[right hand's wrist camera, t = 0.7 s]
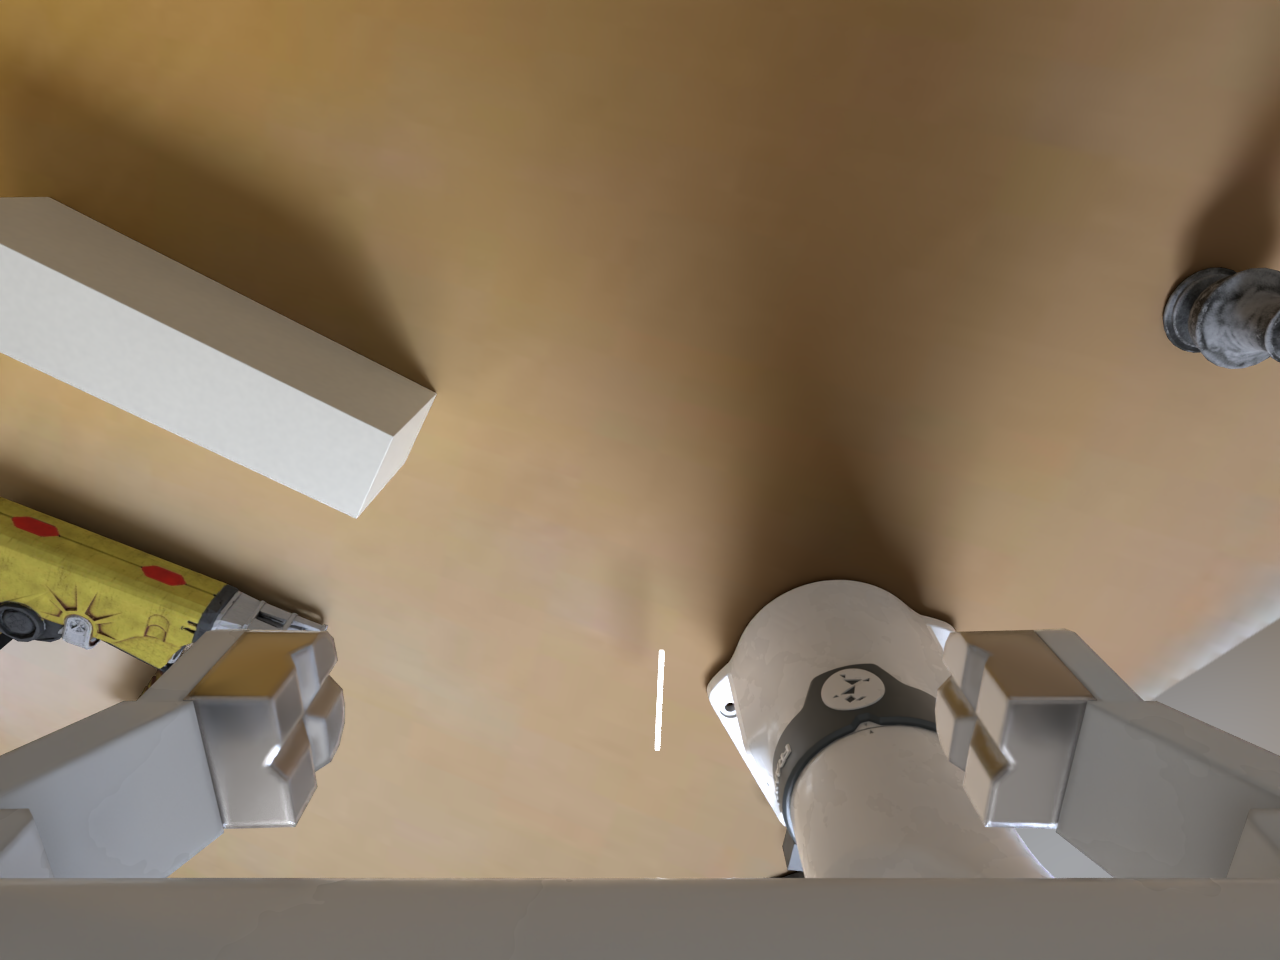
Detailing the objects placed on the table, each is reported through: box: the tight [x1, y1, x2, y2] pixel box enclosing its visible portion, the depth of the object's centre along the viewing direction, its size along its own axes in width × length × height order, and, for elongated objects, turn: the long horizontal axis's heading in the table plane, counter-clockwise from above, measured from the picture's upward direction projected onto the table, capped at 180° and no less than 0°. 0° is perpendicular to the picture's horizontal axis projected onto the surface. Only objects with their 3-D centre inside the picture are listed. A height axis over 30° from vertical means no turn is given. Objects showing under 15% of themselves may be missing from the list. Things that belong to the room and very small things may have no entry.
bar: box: [0, 197, 437, 519], centre depth 45 cm, size 25×6×10 cm, turn 61°
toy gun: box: [0, 497, 328, 699], centre depth 55 cm, size 5×24×15 cm
